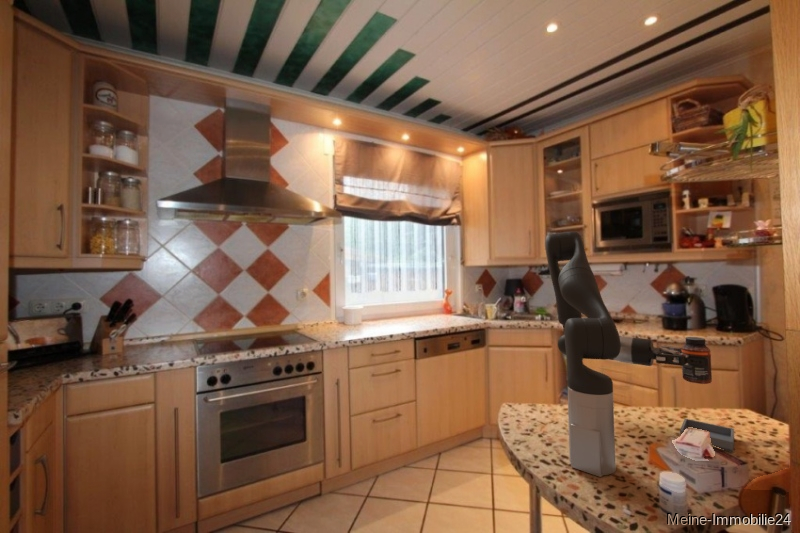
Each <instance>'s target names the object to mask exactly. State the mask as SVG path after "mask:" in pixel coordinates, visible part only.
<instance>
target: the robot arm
mask: <svg viewBox="0 0 800 533" xmlns="http://www.w3.org/2000/svg"><path fill="white" fill-rule="evenodd" d="M544 240H545V242H544V246H545V255H546V259H547V265H548V271H549V275H550V278H551V279H550V280H551V282H552V287H553V291H554V292H553V293H554V296H555V297H554V298H555V302H556V303H555V304H556V312H557V318H558V319H557V320H558V323H559V324H560V325H562V330H563V334H562V335H561V336H560V337H559V338H558V341H557V348H558V350H559V351H560V352H561V353H562V354H564V355H566V375H567V376H566V377H567V380H566V381H567V416H568V419H567V420H568V444H569V445H568V448H569V450H568V451H569V462H570V467H571V468H574V469H576V470H579V471H582V472H585V473H588V474H590V475H594V476H597V477H599V478H602V477H603V476H608V475H612V474H614V473H615V472H616V470H617V468H616V442H615V441H616V438H615V418H614V416H615V415H614V414H615V413H614V412H615V411H614V409H615V408H614V404H615V403H614V383H613V380H612V378H611V377H610V376H608V375H607V374H605V373H603V372H600V371H596V370H594V369H592V368H590V367H588V366H587V365H585V364H584V362H583V360H585V359H586V360H589V359H590V360H610V361H616V362H621V363H625V364H633V365H639V366H646V367H651V366H653V364H654V360H655V362H656V364H658V365H659V364H664V365H673V366H680V367H682V366H685V365H689V364H691V365H699V366H708V358H707V357H700V356H691V355H687V354H682V350H681V349H682V347H677V346H670V345H669V346H668V345H661V346H660V347H655V346H654V342H653V340H652V339H651V338H643V337H631V336H620V333H619V330H618V328H617V326H616V324H615V321H614V320H613V317H612V315H611V313H610V311H609V309H608V308H607V306H606V304H605V302H604V300H603V297H602V294H601V292H600V288H599V286H598V283H597V279H596V276H595V275H594V271H593V270H592V268H591V265H590V263H589V261H588V257H587V253H586V252H587V251H586V249H585V244H584V242H583V241H584V240H583V238H582V236H581V235H580V233H579V232H577V231H564V232H556V233H549V234H547V235H546V236H545V239H544ZM566 261H568V262H567V263H566V264H565V265H564V266H563V267H562V269H561V268H560V266H559V262H566ZM582 315H584V316H585V317H584V318H583V316H582Z"/></svg>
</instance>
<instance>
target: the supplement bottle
mask: <svg viewBox="0 0 800 533" xmlns="http://www.w3.org/2000/svg"><path fill="white" fill-rule="evenodd" d="M681 348H682V349H681V350H682V353H681V354H687V355H691V356H700V357H707V358H708V366H699V365H691V364H689V365H685V366H681V371H682V372H681V373H682V379H683V380H685V381H686V382H689V383H693V384H700V385H703V384H704V385H707V384H712V381H713V380H712V378H713V376H712V357H711V356H712V355H711V354H712V352H711V348H710V347H708V346H707V345H706V339H705V338H704V337H696V336H687V337H685V343H684V344H683V345H682V346H681Z"/></svg>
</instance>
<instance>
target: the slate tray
mask: <svg viewBox="0 0 800 533" xmlns="http://www.w3.org/2000/svg"><path fill="white" fill-rule="evenodd" d="M688 427H693V428H697V429H702V430H707V431H709V432H710V438H711V443H712V445H714V446H716V447H719V448H721V449H724V450H726V451H725V452H729V453H734V452H735V429H734V428H731V427H727V426H723V425H718V424H713V423H708V422H704V421H698V420H694V419H689V418H684V419H683V421H682V425H681V427H680V430H679V434H680V435H681V434H682V433H683V432H684V430H685V429H686V428H688ZM680 435H679V436H680ZM724 450H723V451H724Z"/></svg>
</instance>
